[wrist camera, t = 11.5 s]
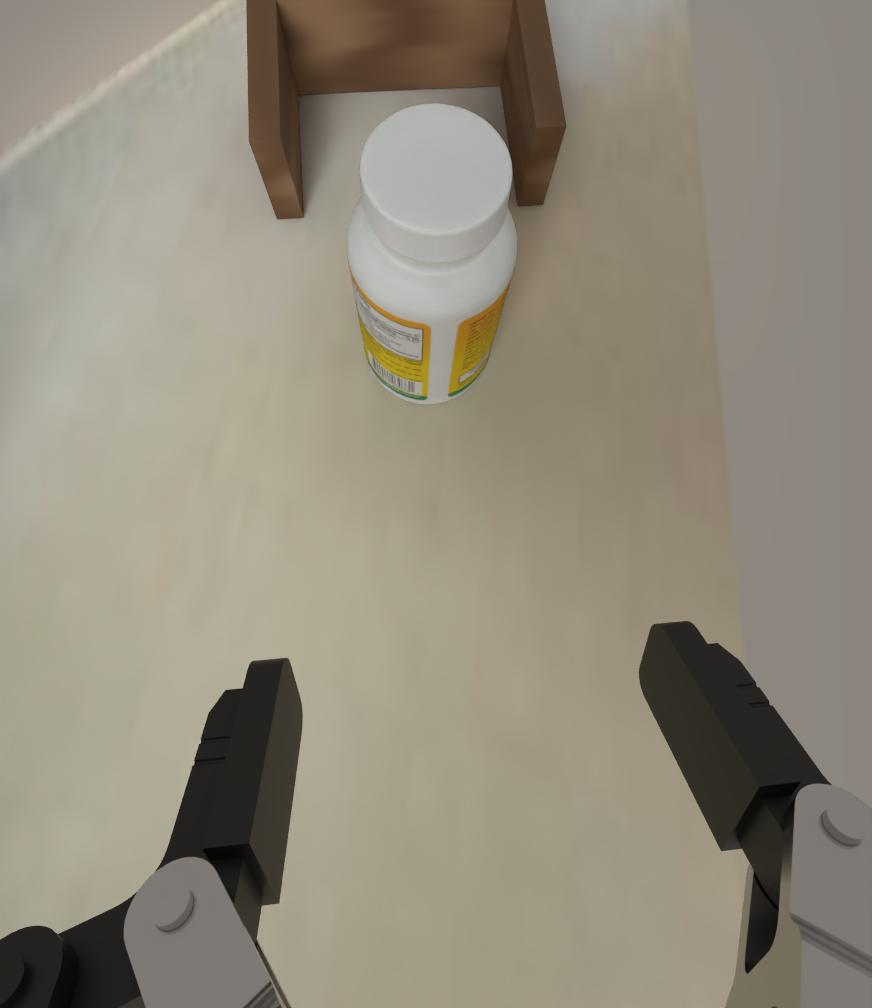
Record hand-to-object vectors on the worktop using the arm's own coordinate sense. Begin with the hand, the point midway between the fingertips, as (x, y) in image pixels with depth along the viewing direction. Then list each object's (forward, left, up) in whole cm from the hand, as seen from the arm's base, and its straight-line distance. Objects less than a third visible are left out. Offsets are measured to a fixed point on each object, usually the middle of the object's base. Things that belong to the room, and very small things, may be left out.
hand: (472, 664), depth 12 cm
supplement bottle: (-2, +12, -9) cm, 15 cm away
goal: (-4, +23, -9) cm, 25 cm away
